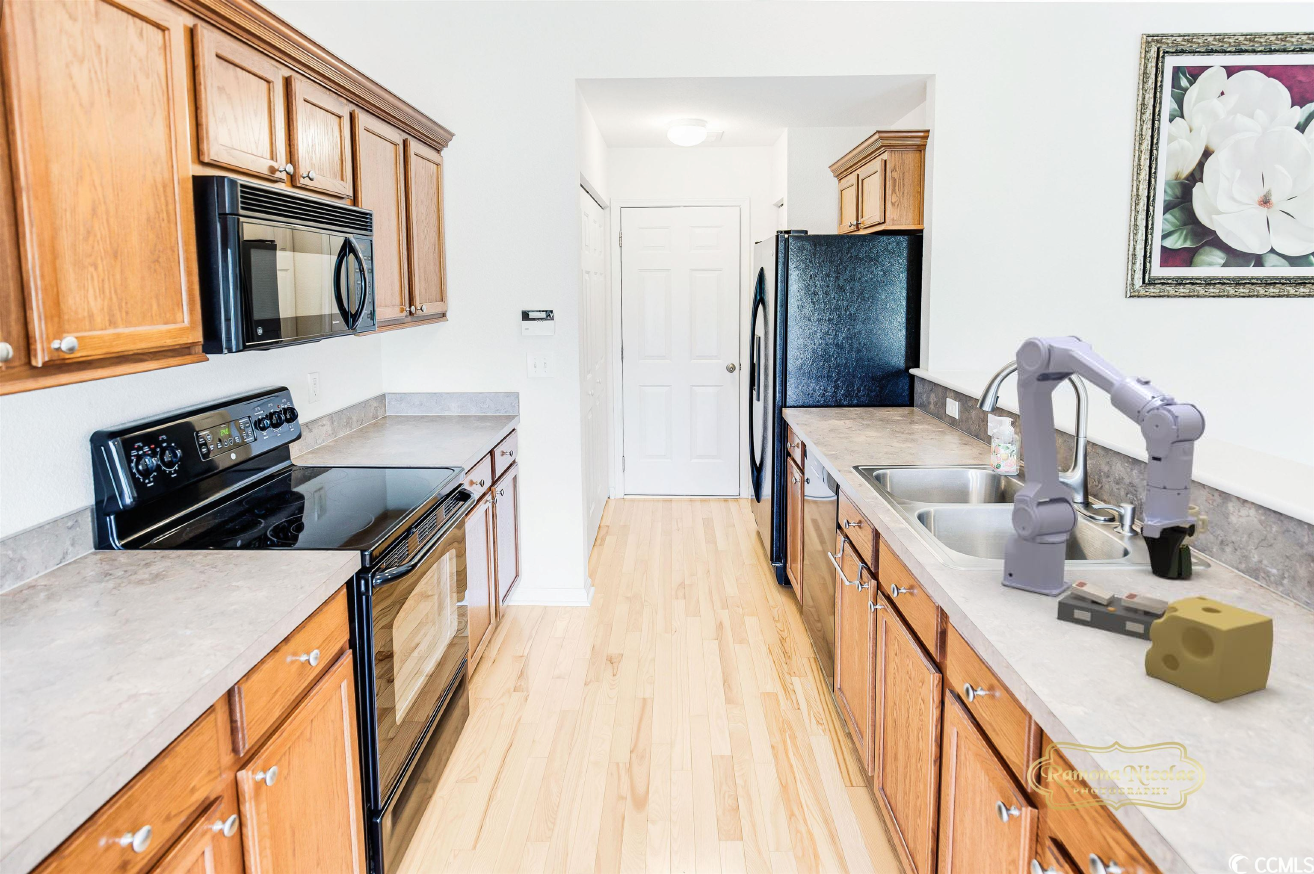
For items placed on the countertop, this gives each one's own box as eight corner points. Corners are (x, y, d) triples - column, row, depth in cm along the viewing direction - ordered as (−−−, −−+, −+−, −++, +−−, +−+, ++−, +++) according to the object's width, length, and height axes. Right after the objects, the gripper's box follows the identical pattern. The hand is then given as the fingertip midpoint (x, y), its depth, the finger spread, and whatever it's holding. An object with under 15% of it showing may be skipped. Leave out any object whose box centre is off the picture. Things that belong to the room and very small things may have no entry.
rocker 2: (1120, 604, 134) (1121, 597, 134) (1128, 598, 137) (1129, 591, 136) (1160, 614, 130) (1161, 607, 130) (1167, 607, 133) (1168, 601, 133)
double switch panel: (1056, 619, 139) (1058, 597, 138) (1075, 606, 145) (1076, 584, 144) (1161, 643, 129) (1163, 620, 128) (1177, 628, 134) (1179, 605, 134)
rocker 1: (1070, 591, 139) (1071, 584, 139) (1078, 585, 142) (1079, 579, 142) (1106, 604, 136) (1107, 598, 135) (1113, 598, 138) (1115, 592, 138)
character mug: (1147, 580, 157) (1152, 510, 155) (1132, 568, 164) (1136, 501, 162) (1213, 582, 155) (1219, 511, 153) (1194, 570, 162) (1199, 501, 160)
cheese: (1143, 674, 119) (1148, 604, 117) (1196, 660, 123) (1202, 592, 121) (1217, 706, 109) (1224, 630, 108) (1273, 689, 113) (1280, 616, 112)
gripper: (1185, 497, 121) (1177, 591, 123) (1211, 481, 131) (1204, 568, 134) (1129, 490, 126) (1123, 581, 128) (1159, 475, 136) (1153, 559, 138)
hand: (1161, 573), depth 131 cm, fingers closed
